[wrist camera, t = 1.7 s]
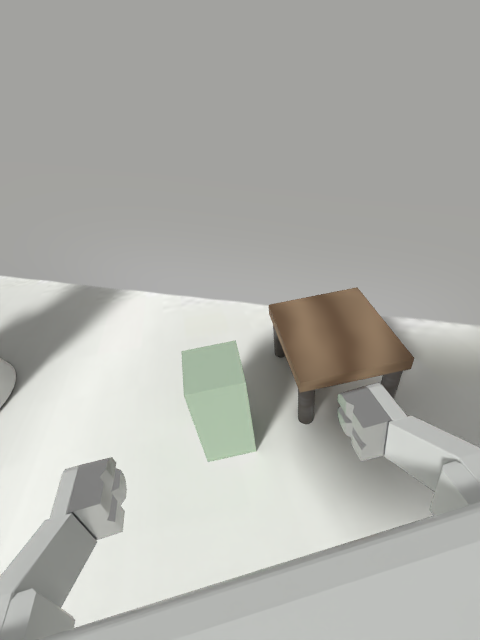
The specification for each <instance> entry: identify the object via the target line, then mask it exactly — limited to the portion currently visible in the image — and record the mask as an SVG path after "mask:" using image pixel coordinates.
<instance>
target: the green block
mask: <svg viewBox="0 0 480 640" xmlns="http://www.w3.org/2000/svg"><path fill="white" fill-rule="evenodd" d="M182 368H183V387H184V397H185V400H186V403H187V405H188V408H189V411H190V414H191V416H192V419H193V422H194V425H195V428H196V430H197V433H198V436H199V439H200V441H201V444H202V447H203V450H204V453H205V455H206V458H207V461H208V462H210V461H215V460H219V459H224V458H228V457H233V456H237V455H242V454H246V453H250V452H255V451H256V445H255V439H254V432H253V426H252V419H251V413H250V406H249V400H248V393H247V387H246V381H245V377H244V373H243V369H242V365H241V360H240V356H239V352H238V348H237V344H236V340H235V341H231V342H226V343H221V344H216V345H211V346H206V347H201V348H196V349H191V350H186V351H182Z"/></svg>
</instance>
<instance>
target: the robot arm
mask: <svg viewBox="0 0 480 640" xmlns="http://www.w3.org/2000/svg"><path fill="white" fill-rule="evenodd" d="M15 381H16V372H15V369H14V367H13V366H12V365H11V364H10V363H8V362H6V361H5V360H3V359H1V358H0V408H1V406H2V405H3V404H4V403H5V401H6V400H7V399H8V397H9V395H10V394H11V392H12V390H13V388H14V385H15ZM338 402H339V404H340V407H339V408H338V418H339V422H340V425H341V427H342V429H343V431H344V433H345V435H347V436H349V437H350V438H352V447H353V449H354V450H355V452H356V454H357V456H358V457H359V459H360V461H361V462H362V461H365V460H369V459H373V458H377V457H380V456H384V457H385V458H387V459H388V460H390V461H391V462H392V463H394V464H395V465H397V466H398V467H400V468H401V469H403V470H404V471H405V472H407V473H408V474H410V475H411V476H413V477H414V478H415V479H417V480H418V481H420V482H421V483H423V484H424V485H425V486H427V487H428V488H430V489H431V490H433V491H434V492H435V493H434V496H433V500H432V503H431V506H430V511H431V513H432V514H433V516H431V517H428V518H425V519H422V520H418V521H415V522H412V523H409V524H406V525H402V526H399V527H396V528H393V529H390V530H386V531H383V532H380V533H377V534H374V535H370V536H367V537H364V538H361V539H358V540H354V541H351V542H348V543H345V544H341V545H338V546H335V547H332V548H329V549H325V550H322V551H319V552H316V553H313V554H309V555H306V556H303V557H300V558H297V559H293V560H290V561H287V562H284V563H281V564H277V565H274V566H271V567H268V568H265V569H261V570H258V571H255V572H252V573H249V574H245V575H242V576H239V577H236V578H232V579H229V580H226V581H223V582H220V583H216V584H213V585H210V586H207V587H204V588H200V589H197V590H194V591H191V592H188V593H184V594H181V595H178V596H175V597H172V598H168V599H165V600H162V601H159V602H156V603H152V604H149V605H146V606H143V607H140V608H136V609H133V610H130V611H127V612H124V613H120V614H117V615H114V616H111V617H108V618H104V619H101V620H98V621H95V622H92V623H88V624H85V625H82V626H79V627H76V628H74V624H75V619H74V618H73V616H71V615H70V614H69V613H67V612H66V611H64V610H63V609H61V607H62V605H63V603H64V601H65V600H66V598H67V596H68V594H69V592H70V590H71V589H72V587H73V585H74V583H75V581H76V579H77V578H78V576H79V574H80V572H81V570H82V569H83V567H84V565H85V563H86V561H87V559H88V558H89V556H90V554H91V552H92V550H93V549H94V547H95V545H96V543H97V541H96V540H99V539H102V538H105V537H108V536H111V535H114V534H117V533H120V532H123V523H124V513H125V511H124V509H123V508H122V507H121V505H122V503H123V502H124V500H125V498H126V490H127V489H126V480H125V477H124V474H123V473H122V471H121V470H119V469H116V462H115V460H114V459H113V458H112V457H111V458H107V459H103V460H99V461H95V462H91V463H87V464H83V465H79V466H75V467H71V468H68V469H65V471H64V472H63V474H62V476H61V480H60V483H59V487H58V490H57V494H56V497H55V501H54V504H53V508H52V512H51V515H50V519H49V520H45V521H44V522H43V523H42V525H41V526H40V527H39V528H38V530H37V531H36V532H35V534H34V535H33V536H32V537H31V539H30V540H29V541H28V542H27V544H26V545H25V546H24V547H23V549H22V550H21V551H20V552H19V554H18V555H17V556H16V557H15V559H14V560H13V561H12V562H11V564H10V565H9V566H8V567H7V569H6V570H5V571H4V572H3V574H2V575H1V576H0V640H480V447H477V446H475V445H473V444H471V443H469V442H467V441H465V440H463V439H461V438H458V437H456V436H454V435H452V434H450V433H448V432H446V431H444V430H442V429H439V428H437V427H435V426H433V425H431V424H429V423H427V422H425V421H422V420H420V419H418V418H416V417H414V416H407V415H406V414H405V412H404V411H403V410H402V409H401V408H400V406H399V405H398V404H397V403H396V401H395V400H394V399H393V398H392V397H391V395H390V394H389V393H388V392H387V390H386V389H385V388H384V387H383V385H382V384H380V383H375V384H372V385H368V386H365V387H364V386H363V387H360V388H357V389H353V390H350V391H346V392H343V393H340V394H339V395H338Z"/></svg>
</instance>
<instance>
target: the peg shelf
mask: <svg viewBox="0 0 480 640" xmlns="http://www.w3.org/2000/svg"><path fill="white" fill-rule="evenodd" d="M269 315H270V317H271V320H272V323H273V330H274V347H275V355H276V356H278V357H284V356H286V358H287V361H288V363H289V366H290V368H291V371H292V374H293V376H294V379H295V381H296V384H297V386H298V419H299V421H300V422H301V423H303V424H309V423H311V422H312V421H313V413H314V396H315V389H320V388H324V387H329V386H334V385H338V384H343V383H347V382H352V381H357V380H361V379H366V378H371V377H375V376H380V375H383V377H382V381H381V384H382V385H383V387H384V388H385V389H386V390H387V392H388V393H389V394H390V395H391V397H392V398H393V399H394V396H395V393H396V390H397V387H398V384H399V380H400V377H401V374H402V371H403V370H408V369H411V367H412V364H413V361H414V357H413V356H412V355H411V353H410V352H409V351H408V350H407V349H406V347H405V346H404V345H403V344H402V342H401V341H400V340H399V339H398V337H397V336H396V335H395V334H394V332H393V331H392V330H391V329H390V327H389V326H388V325H387V324H386V322H385V321H384V320H383V319H382V317H381V316H380V315H379V314H378V313H377V311H376V310H375V309H374V308H373V306H372V305H371V304H370V303H369V301H368V300H367V299H366V298H365V296H364V295H363V294H362V293H361V291H360V290H359V289H358V288H352V289H347V290H342V291H337V292H331V293H327V294H321V295H316V296H311V297H306V298H301V299H296V300H291V301H286V302H281V303H276V304H271V305H269Z"/></svg>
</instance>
